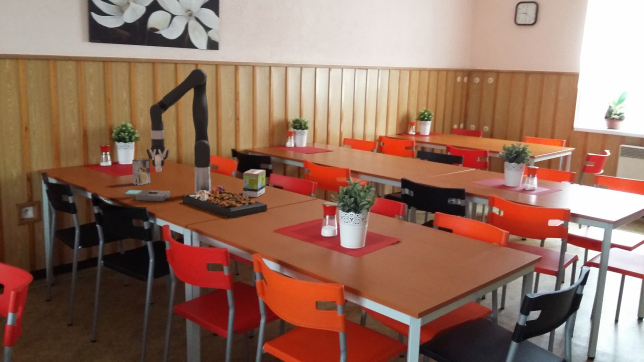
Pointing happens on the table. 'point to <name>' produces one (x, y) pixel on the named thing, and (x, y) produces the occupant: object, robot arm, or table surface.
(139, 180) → the coffee box
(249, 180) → the tea box
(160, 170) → the cream rounded tapered piece
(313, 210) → the table surface
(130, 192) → the teal square tile
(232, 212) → the food platter
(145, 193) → the socket block
